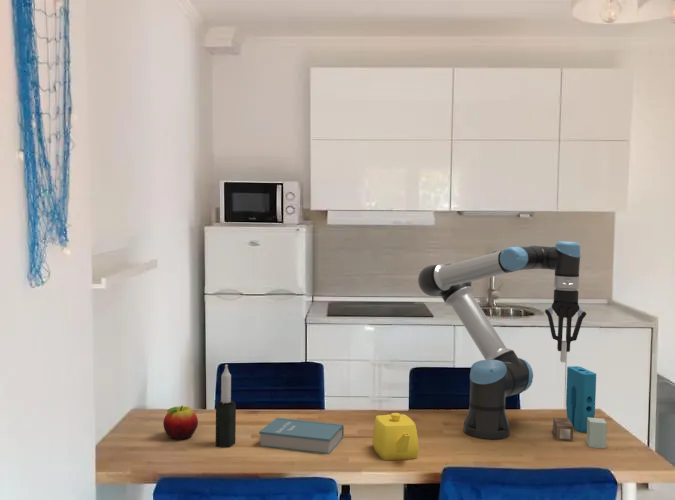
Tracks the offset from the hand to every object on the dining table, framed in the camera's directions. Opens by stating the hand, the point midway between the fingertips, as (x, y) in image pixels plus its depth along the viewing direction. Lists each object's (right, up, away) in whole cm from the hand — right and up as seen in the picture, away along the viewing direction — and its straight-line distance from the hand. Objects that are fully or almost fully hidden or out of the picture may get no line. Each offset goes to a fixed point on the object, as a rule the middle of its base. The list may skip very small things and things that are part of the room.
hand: (563, 361), depth 212 cm
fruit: (-124, -24, -3) cm, 126 cm away
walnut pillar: (0, -23, -1) cm, 23 cm away
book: (-85, -25, -6) cm, 88 cm away
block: (+10, -25, +13) cm, 30 cm away
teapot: (-56, -26, -15) cm, 63 cm away
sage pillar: (+9, -26, -4) cm, 28 cm away
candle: (-108, -24, -10) cm, 111 cm away
